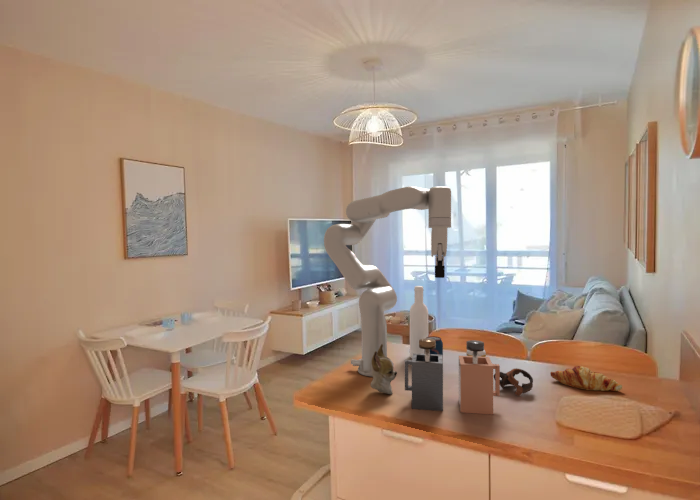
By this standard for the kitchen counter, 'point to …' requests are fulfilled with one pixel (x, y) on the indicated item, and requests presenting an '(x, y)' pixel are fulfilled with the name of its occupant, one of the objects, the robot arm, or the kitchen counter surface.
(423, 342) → the plunger bronze
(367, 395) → the kitchen counter surface
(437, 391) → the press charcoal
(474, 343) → the grey plunger
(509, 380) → the brown curved piece
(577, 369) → the croissant
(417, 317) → the bottle
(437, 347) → the soda can
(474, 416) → the kitchen counter surface
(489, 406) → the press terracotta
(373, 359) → the ceramic sculpture
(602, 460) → the kitchen counter surface
